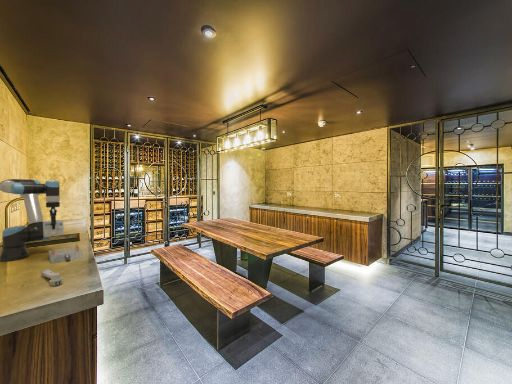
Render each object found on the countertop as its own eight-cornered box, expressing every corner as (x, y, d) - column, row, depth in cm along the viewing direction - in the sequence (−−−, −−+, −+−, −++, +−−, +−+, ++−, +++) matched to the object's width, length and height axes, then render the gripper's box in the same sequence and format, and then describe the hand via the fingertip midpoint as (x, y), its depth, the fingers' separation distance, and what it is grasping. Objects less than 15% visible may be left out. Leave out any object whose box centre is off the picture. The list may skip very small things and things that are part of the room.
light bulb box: (61, 233, 171) (61, 219, 171) (64, 234, 167) (63, 220, 167) (42, 236, 163) (42, 221, 163) (44, 237, 158) (44, 221, 158)
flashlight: (50, 267, 139) (63, 271, 124) (51, 278, 138) (64, 283, 124) (39, 270, 135) (50, 274, 120) (39, 281, 134) (51, 286, 120)
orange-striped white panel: (48, 257, 171) (48, 246, 171) (78, 252, 184) (78, 242, 184) (50, 264, 155) (50, 253, 155) (83, 258, 168) (83, 248, 168)
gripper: (46, 201, 169) (46, 232, 170) (45, 202, 154) (46, 235, 155) (59, 201, 174) (59, 230, 175) (60, 202, 160) (60, 234, 160)
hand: (53, 233), depth 165 cm, fingers closed on light bulb box, 7 cm apart
